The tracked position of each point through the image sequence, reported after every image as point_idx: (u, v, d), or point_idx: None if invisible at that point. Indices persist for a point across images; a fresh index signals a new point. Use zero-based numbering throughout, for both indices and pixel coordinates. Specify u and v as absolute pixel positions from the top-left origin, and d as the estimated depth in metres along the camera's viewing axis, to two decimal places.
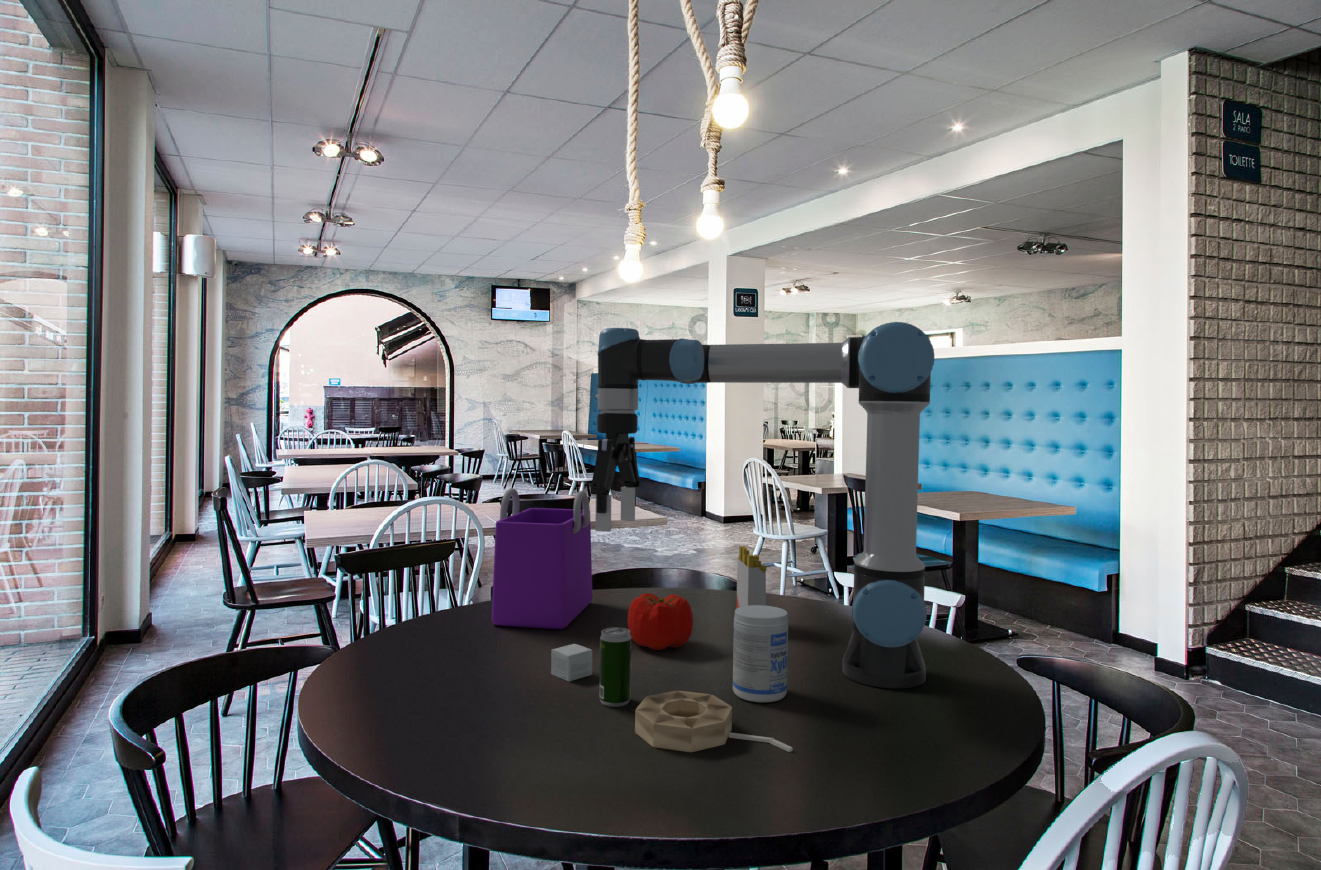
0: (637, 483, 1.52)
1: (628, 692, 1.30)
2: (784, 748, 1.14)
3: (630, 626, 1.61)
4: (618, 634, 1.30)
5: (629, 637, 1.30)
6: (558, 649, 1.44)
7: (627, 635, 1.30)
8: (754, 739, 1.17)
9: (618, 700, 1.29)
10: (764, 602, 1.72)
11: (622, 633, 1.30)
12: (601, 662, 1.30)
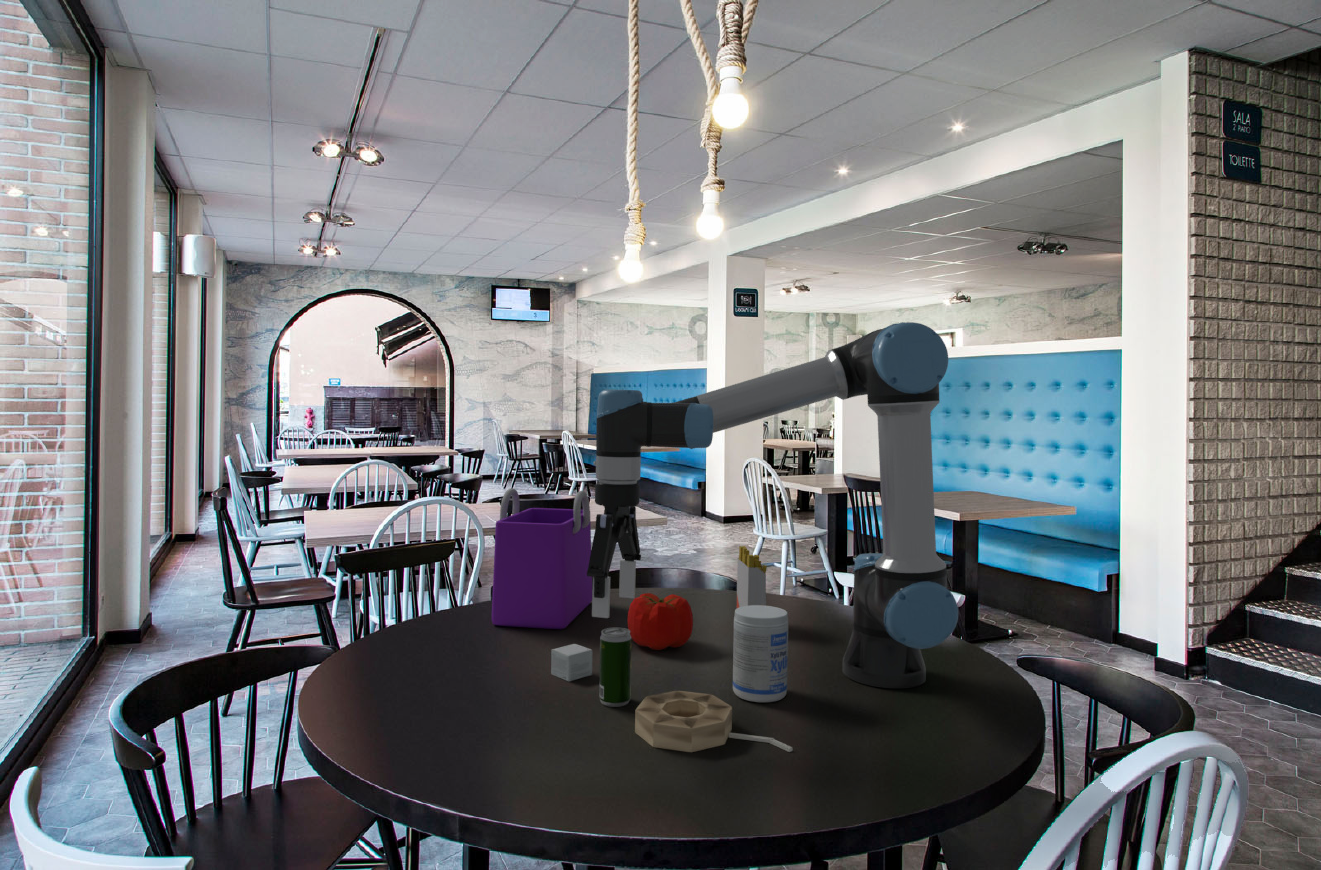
0: (638, 556, 1.38)
1: (628, 692, 1.30)
2: (784, 748, 1.14)
3: (630, 626, 1.61)
4: (618, 634, 1.30)
5: (629, 637, 1.30)
6: (558, 649, 1.44)
7: (627, 635, 1.30)
8: (754, 739, 1.17)
9: (618, 700, 1.29)
10: (764, 602, 1.72)
11: (622, 633, 1.30)
12: (601, 662, 1.30)
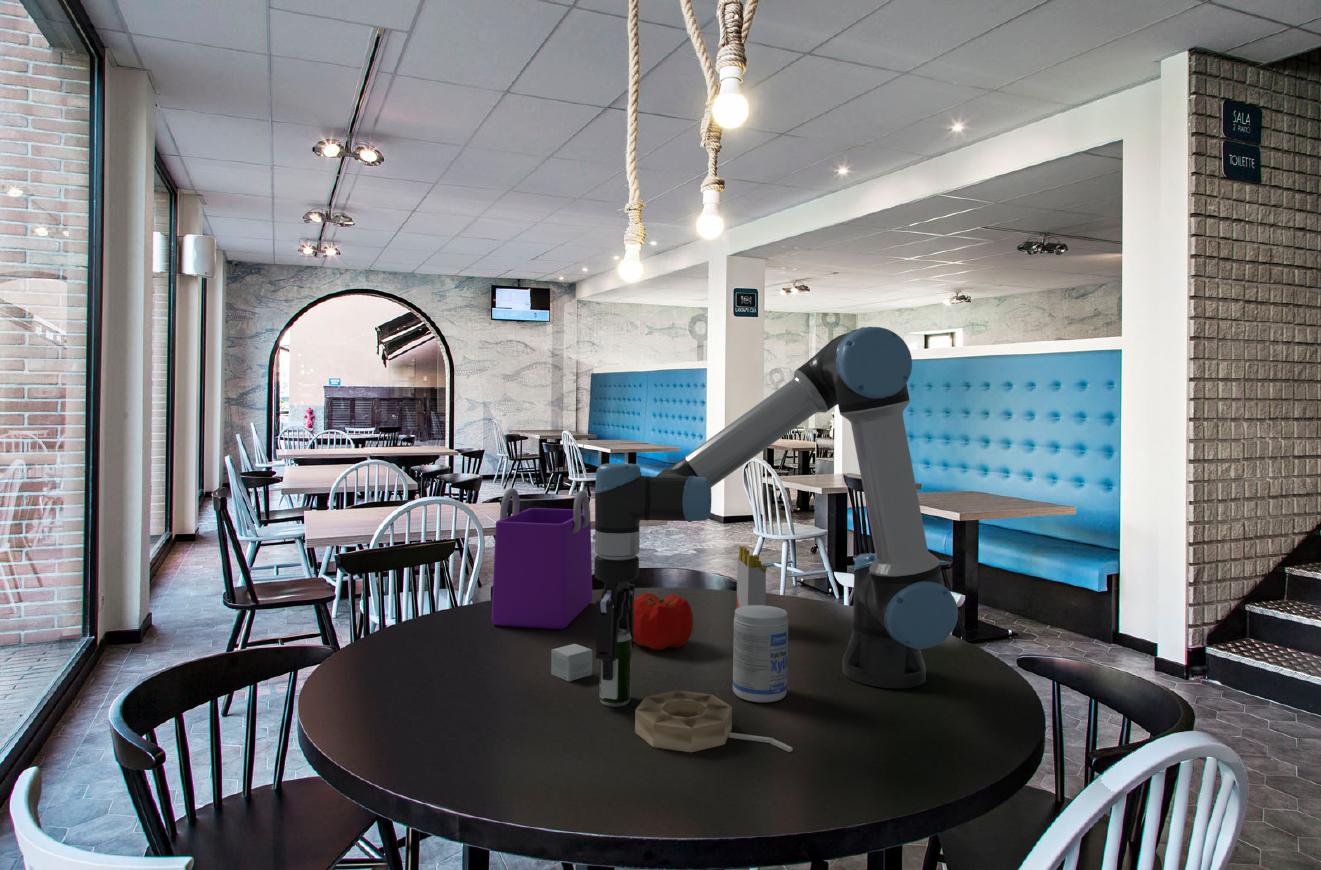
0: None
1: (628, 692, 1.30)
2: (784, 748, 1.14)
3: None
4: (618, 634, 1.30)
5: (629, 637, 1.30)
6: (558, 649, 1.44)
7: (627, 635, 1.30)
8: (754, 739, 1.17)
9: (618, 700, 1.29)
10: (764, 602, 1.72)
11: (622, 633, 1.30)
12: None
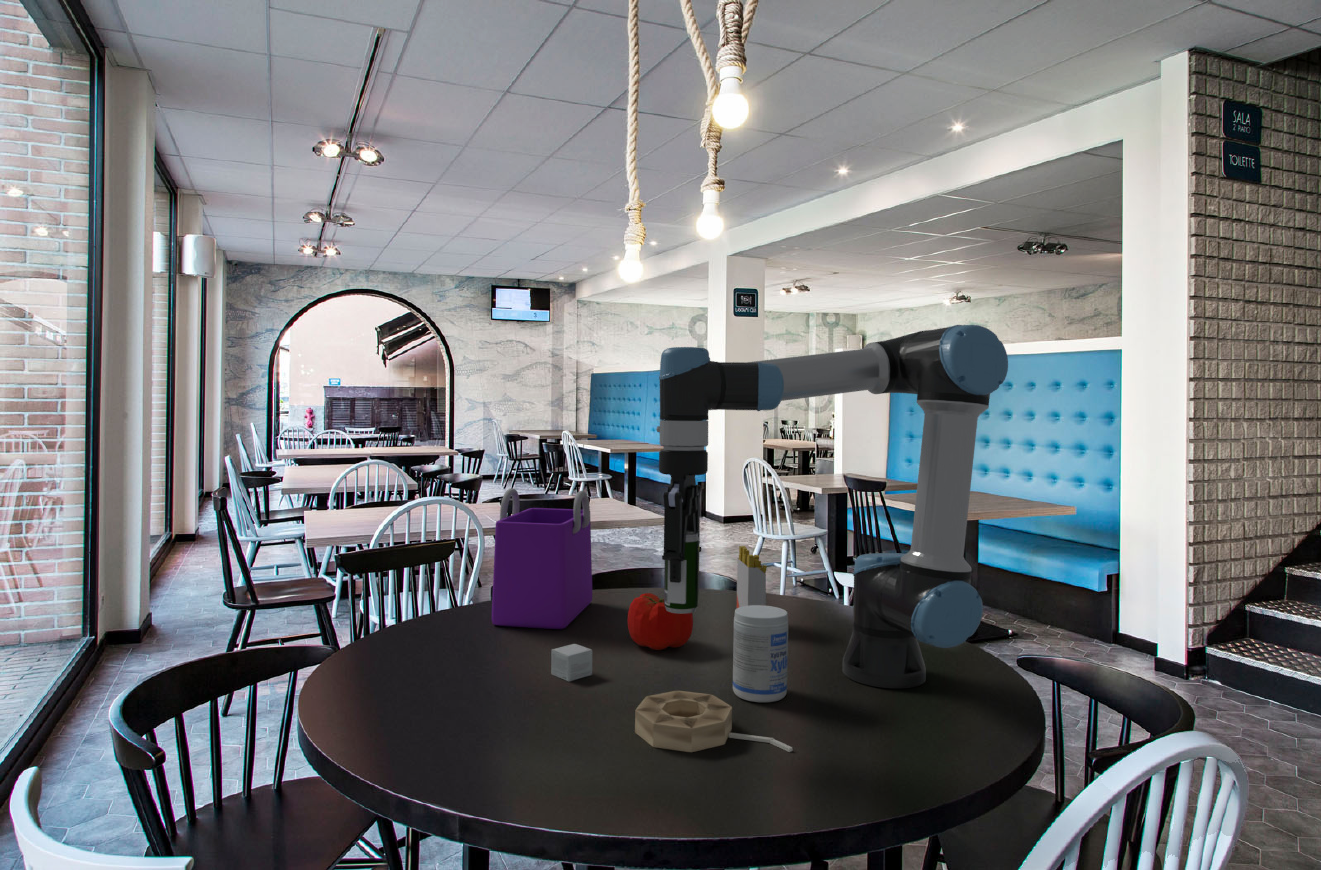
0: None
1: (696, 598, 1.19)
2: (784, 748, 1.14)
3: (630, 626, 1.61)
4: None
5: (697, 538, 1.19)
6: (558, 649, 1.44)
7: (695, 535, 1.19)
8: (754, 739, 1.17)
9: (686, 606, 1.18)
10: (764, 602, 1.72)
11: (689, 534, 1.19)
12: (667, 565, 1.19)
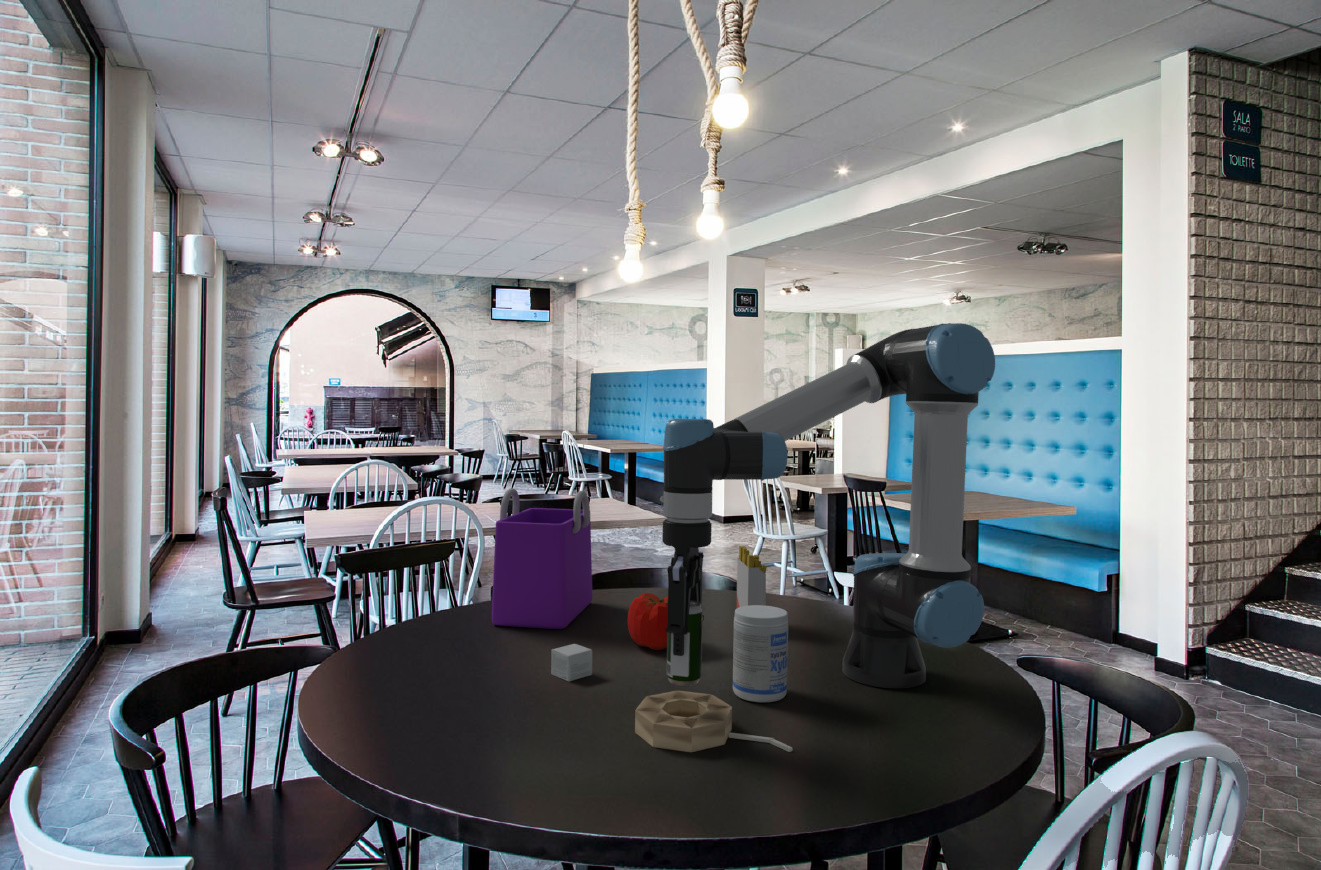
0: None
1: (699, 670, 1.19)
2: (784, 748, 1.14)
3: (630, 626, 1.61)
4: None
5: (700, 609, 1.19)
6: (558, 649, 1.44)
7: (698, 607, 1.18)
8: (754, 739, 1.17)
9: (689, 678, 1.17)
10: (764, 602, 1.72)
11: (693, 605, 1.19)
12: (670, 637, 1.18)
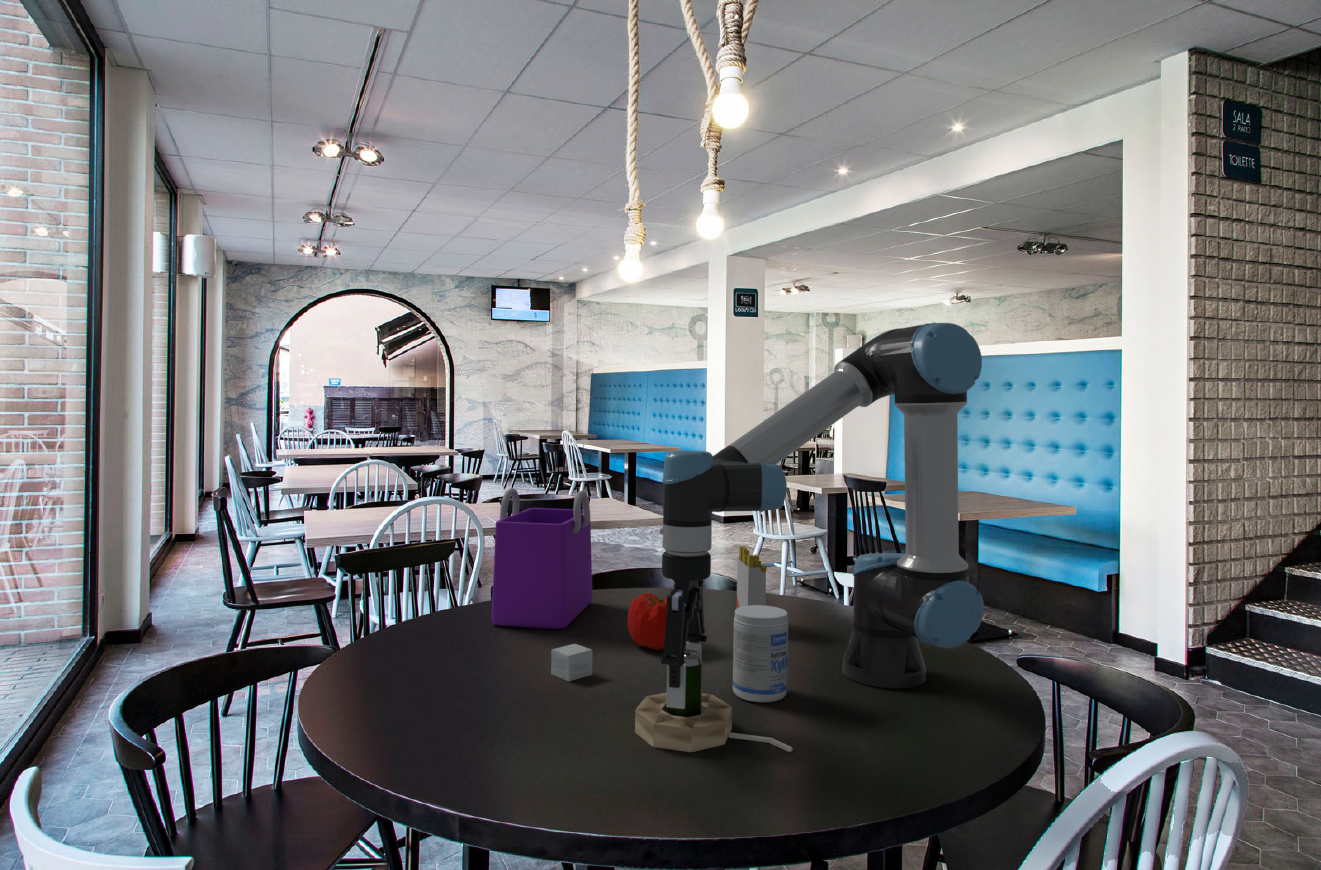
0: (703, 637, 1.25)
1: None
2: (784, 748, 1.14)
3: (630, 626, 1.61)
4: (688, 657, 1.18)
5: (700, 660, 1.19)
6: (558, 649, 1.44)
7: (698, 658, 1.19)
8: (754, 739, 1.17)
9: None
10: (764, 602, 1.72)
11: (692, 656, 1.19)
12: None
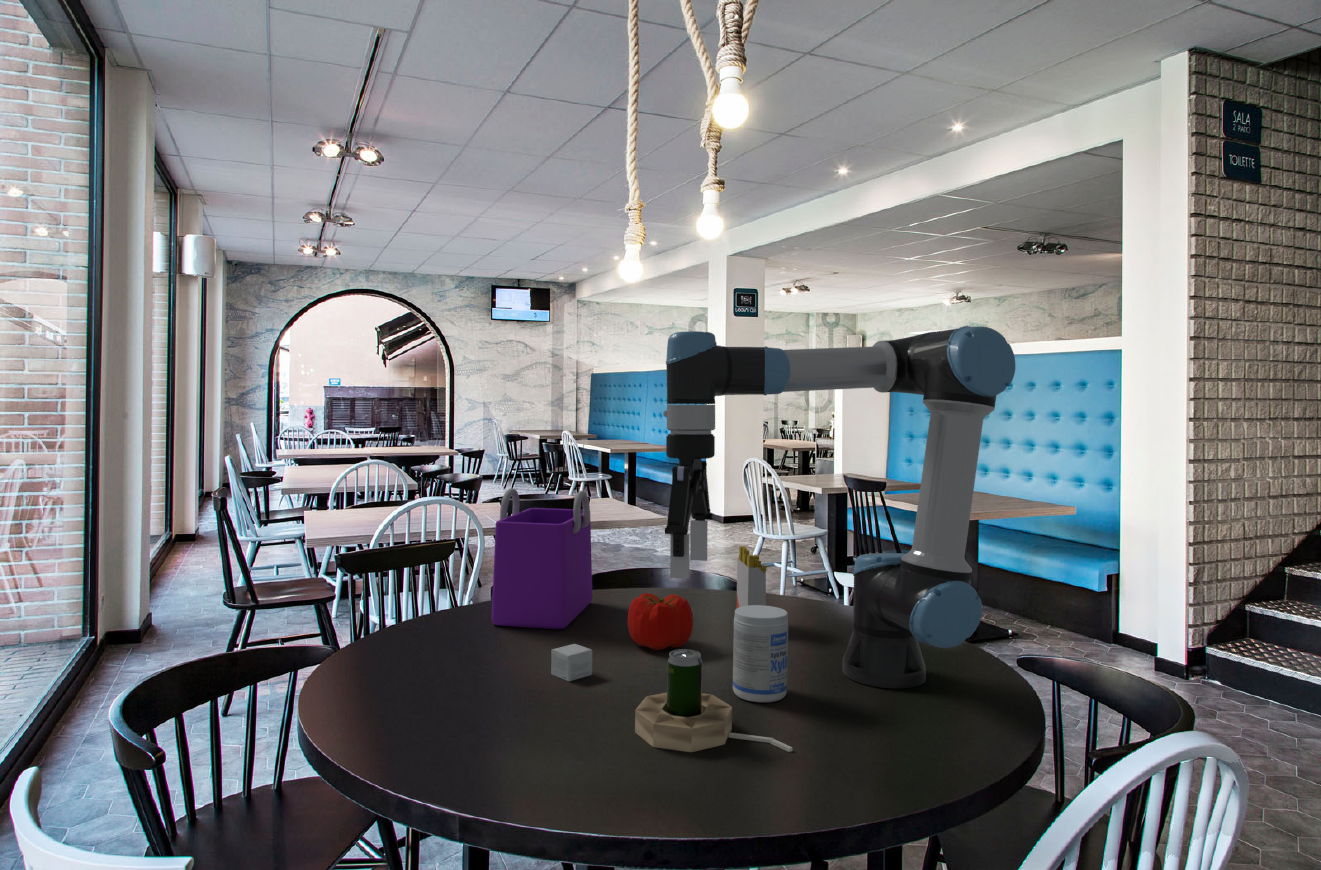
0: (709, 515, 1.28)
1: None
2: (784, 748, 1.14)
3: (630, 626, 1.61)
4: (688, 657, 1.18)
5: (700, 660, 1.19)
6: (558, 649, 1.44)
7: (698, 658, 1.19)
8: (754, 739, 1.17)
9: None
10: (764, 602, 1.72)
11: (692, 656, 1.19)
12: (669, 688, 1.19)
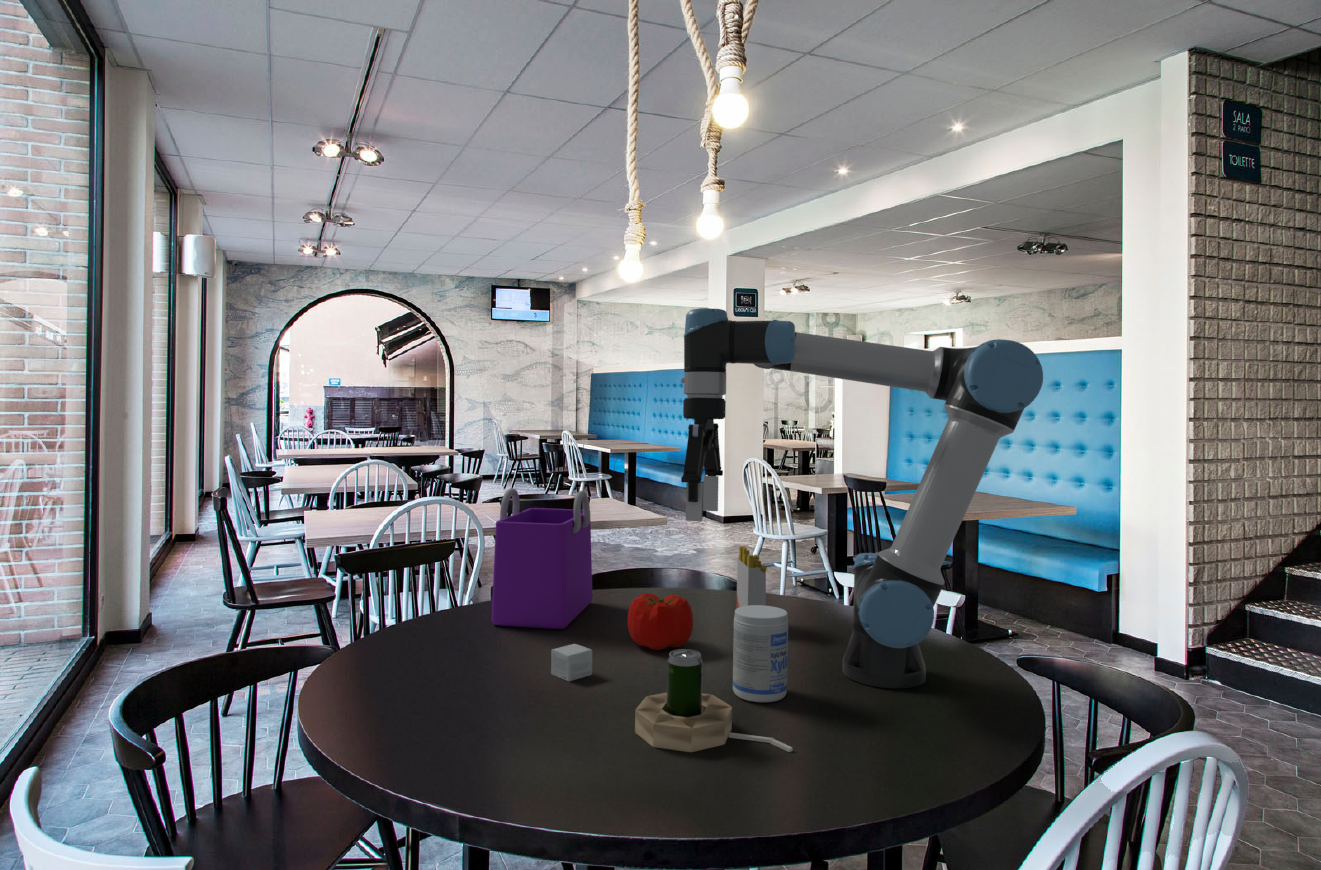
0: (720, 472, 1.46)
1: None
2: (784, 748, 1.14)
3: (630, 626, 1.61)
4: (688, 657, 1.18)
5: (700, 660, 1.19)
6: (558, 649, 1.44)
7: (698, 658, 1.19)
8: (754, 739, 1.17)
9: None
10: (764, 602, 1.72)
11: (692, 656, 1.19)
12: (669, 688, 1.19)
